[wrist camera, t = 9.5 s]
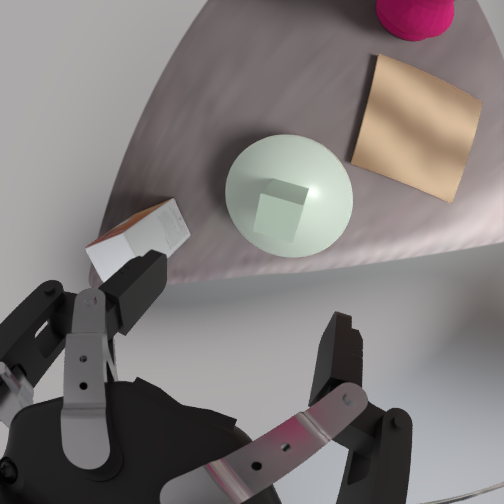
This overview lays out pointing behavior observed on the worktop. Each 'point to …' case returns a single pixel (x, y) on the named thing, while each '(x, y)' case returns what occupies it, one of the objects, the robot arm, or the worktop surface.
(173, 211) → the small box
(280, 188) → the lid
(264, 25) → the worktop surface
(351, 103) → the worktop surface
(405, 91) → the plate
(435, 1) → the pepper mill
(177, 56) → the worktop surface
